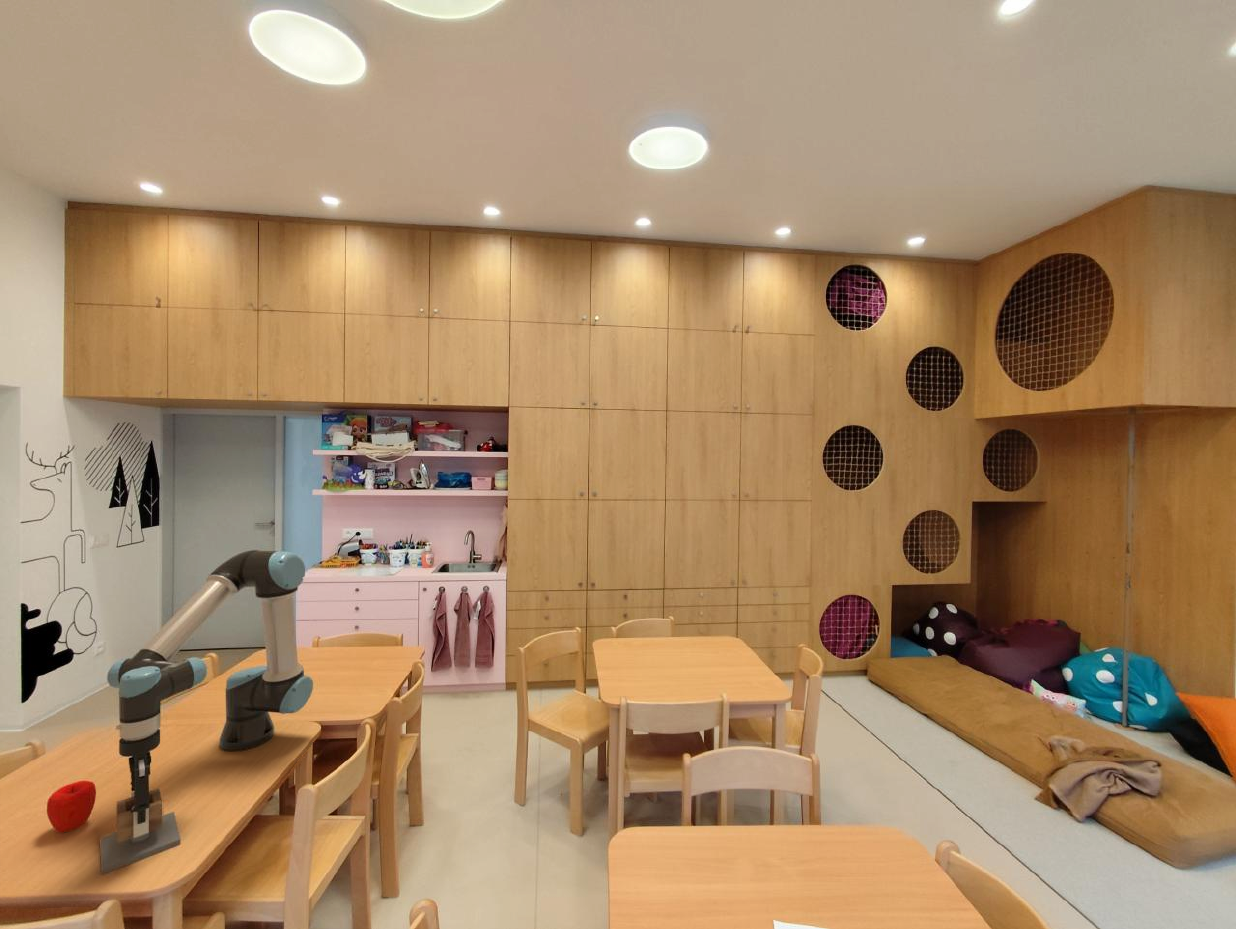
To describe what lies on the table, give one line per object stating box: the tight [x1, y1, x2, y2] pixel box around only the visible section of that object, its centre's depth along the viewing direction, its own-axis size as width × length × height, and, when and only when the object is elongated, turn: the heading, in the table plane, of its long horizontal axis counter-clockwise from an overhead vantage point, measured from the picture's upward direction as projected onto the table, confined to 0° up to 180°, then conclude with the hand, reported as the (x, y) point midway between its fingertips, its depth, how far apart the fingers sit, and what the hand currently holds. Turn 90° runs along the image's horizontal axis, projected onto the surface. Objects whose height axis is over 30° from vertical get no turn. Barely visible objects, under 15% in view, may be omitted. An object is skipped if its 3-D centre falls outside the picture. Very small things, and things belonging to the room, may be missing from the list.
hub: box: [115, 787, 163, 843], centre depth 131 cm, size 8×8×6 cm
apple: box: [46, 780, 97, 834], centre depth 136 cm, size 9×9×11 cm
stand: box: [99, 806, 181, 876], centre depth 131 cm, size 14×14×9 cm
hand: (139, 825), depth 131 cm, fingers closed on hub, 8 cm apart
